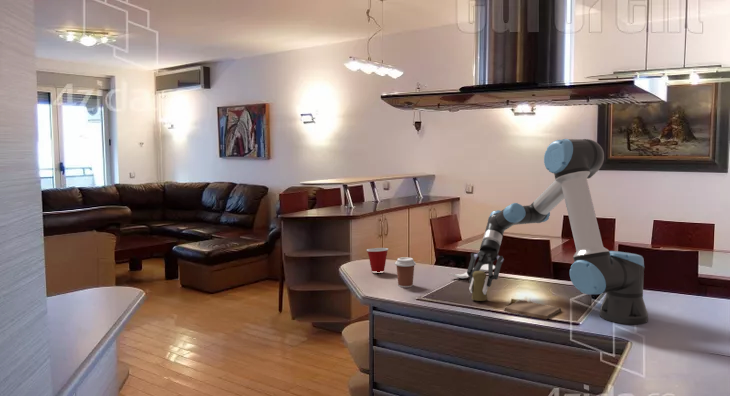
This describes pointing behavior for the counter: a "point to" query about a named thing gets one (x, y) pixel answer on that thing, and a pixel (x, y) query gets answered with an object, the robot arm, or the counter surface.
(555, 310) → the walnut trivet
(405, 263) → the coffee cup
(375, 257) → the plastic cup
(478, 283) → the cork
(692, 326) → the counter surface
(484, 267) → the spoon
